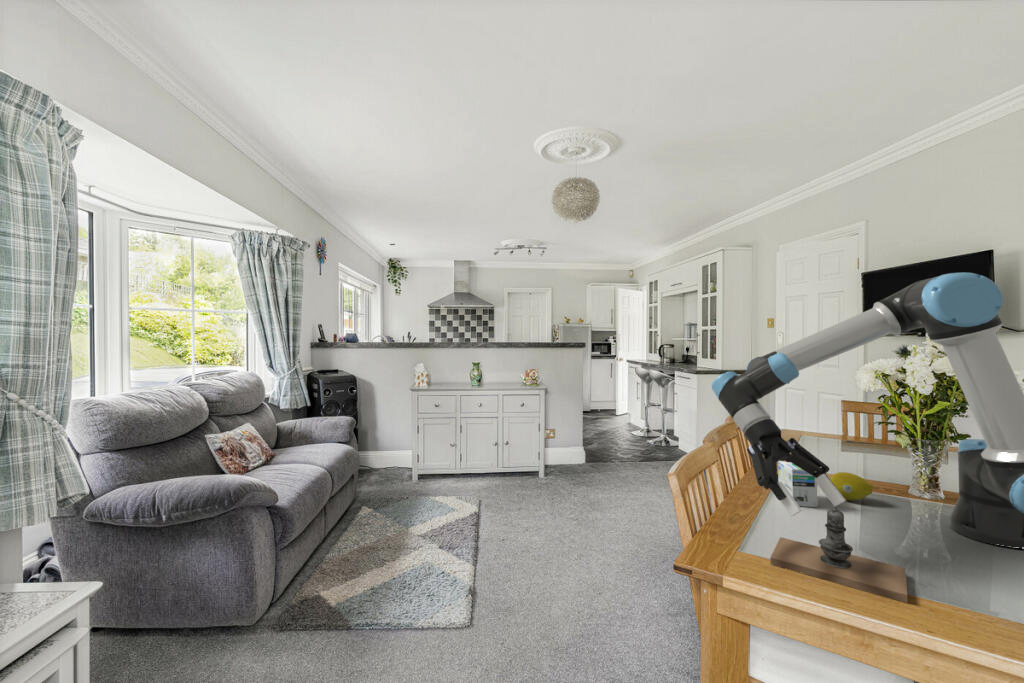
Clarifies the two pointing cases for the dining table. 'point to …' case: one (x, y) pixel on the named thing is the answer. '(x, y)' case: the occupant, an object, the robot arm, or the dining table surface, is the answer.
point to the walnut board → (842, 569)
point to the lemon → (851, 486)
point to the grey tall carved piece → (835, 541)
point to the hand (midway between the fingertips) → (819, 508)
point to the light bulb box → (798, 483)
